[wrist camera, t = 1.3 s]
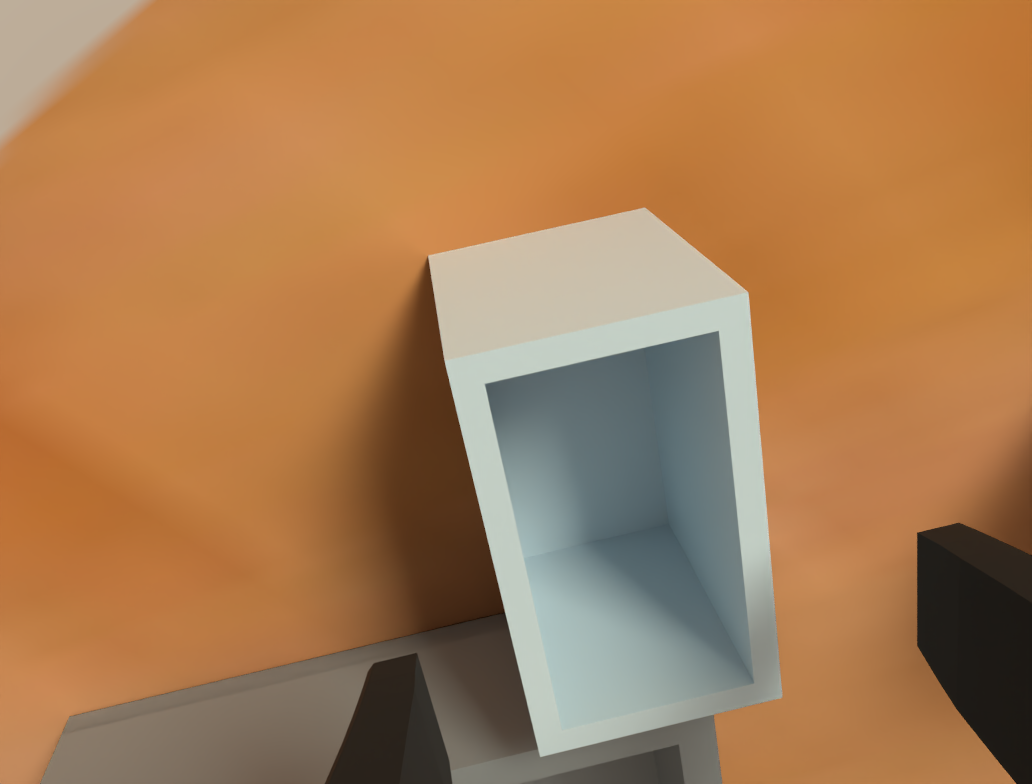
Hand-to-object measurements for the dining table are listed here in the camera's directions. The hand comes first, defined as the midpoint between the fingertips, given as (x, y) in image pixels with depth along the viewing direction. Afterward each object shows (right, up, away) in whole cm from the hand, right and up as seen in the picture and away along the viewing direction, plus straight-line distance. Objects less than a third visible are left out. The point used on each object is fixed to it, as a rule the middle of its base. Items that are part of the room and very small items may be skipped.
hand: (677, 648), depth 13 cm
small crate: (-1, +3, +8) cm, 8 cm away
